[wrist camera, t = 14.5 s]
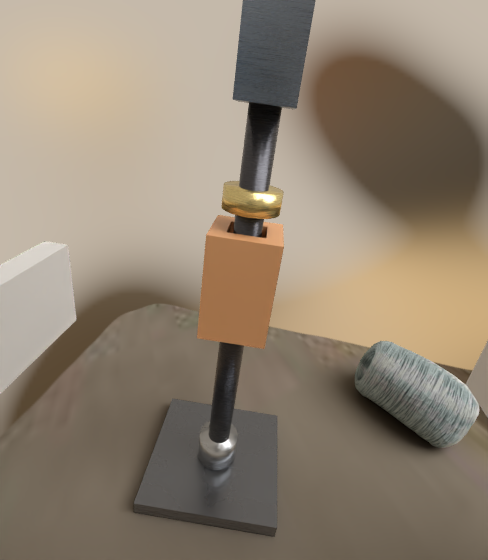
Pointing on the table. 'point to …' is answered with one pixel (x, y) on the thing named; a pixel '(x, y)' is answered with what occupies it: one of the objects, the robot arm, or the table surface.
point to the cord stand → (221, 414)
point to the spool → (417, 393)
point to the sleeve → (239, 283)
